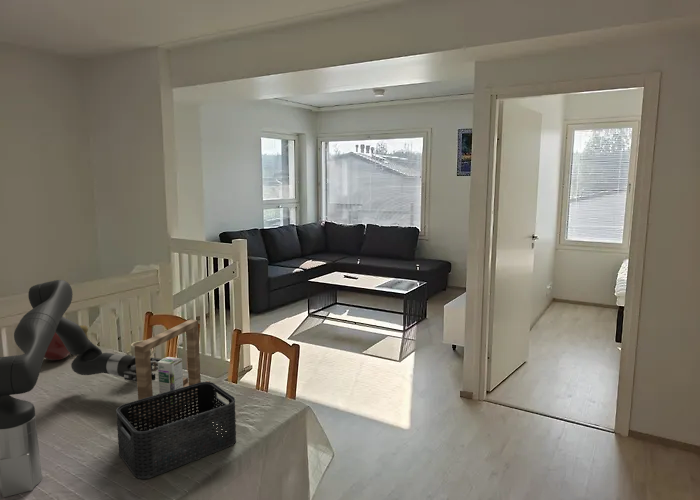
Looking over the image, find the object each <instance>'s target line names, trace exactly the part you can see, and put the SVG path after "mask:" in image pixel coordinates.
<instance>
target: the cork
mask: <svg viewBox="0 0 700 500" xmlns="http://www.w3.org/2000/svg"><path fill="white" fill-rule="evenodd" d="M79 326H80V327H81V328H82V329H83V331H84V333H85V334H86V336H87V338H88V339H89V337H88V331H89V327H88V326H86V325H84V324H83V325H79Z"/></svg>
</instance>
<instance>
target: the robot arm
mask: <svg viewBox="0 0 700 500" xmlns="http://www.w3.org/2000/svg"><path fill="white" fill-rule="evenodd" d="M27 296H28V301H29V303H30V306H31V307H32V309H31V310H29V311H28V312H26V314H24V315H23V316H22V317H21V319H20V320H19V322H18V324H17V326H16V328H15V329H14V333H13V339H14V342H15V344H16V346H17V347H18V348H19V349H20V350H21V352H23V354H18V355H6V356H0V494H1V497H2V498H7V497H10V496H15V495H19V494H23V493H27V492H30V491H33V490H34V488H35V487H36V486H37V485H39V484H40V482H41V481H42V479H43V473H42V464H41V456H40V446H39V437H38V427H37V420H36V419H37V418H36V409H35V405H34V404H33V403H32V402H31V401H28V400H24V399H19V398H15V397H14V395H22V394H26V393H29V392H31V391H32V390H33V389H34V388H35V386H36V385H37V382H38V380H39V376H40V373H41V369H42V365H43V362H44V359H45V358H44V356H45V353H46V351H47V349H48V346H49V344H50V342H51V340H52V338H53V336H54V334H55V332H56V334H57V335H58V336H59V337H60V339H61V340H62V342H63V344H64V345H65V347H66V348H67V350H68V351H69V353H70V354H71V355H72V356H76V357H74V359H73V360H72V362H71V364H70V366H71V370H72V371H73V372H74V373H75V374H78V375H81V376H91V375H99V374H108V375H113V376H115V377H121V378H124V380H126V381H131V382H136V383H137V375H136V361H135V356H131V355H130V354H129V355H127V354H124V353H123V354H122V353H119V354H118V353H111V352H103V351H102V350H101V348H99V347H98V346H97V345H95V344H94V343H93V342H92V341H91V340H90V339H89V337H88V338H87V336H88V335H87V336H86V334H85V333H84V331H83V329H82V328H81V327H80V326H81V325H79V324H78V323H76V322H74V321H72V320H71V319H69V318H66V317H64V315H65V313H66V311H67V310H68V308H69V307H70V305H71V303H72V301H73V288H72V286H71V284H70V283H69V282H68V281H66V280H64V279H55V280H50V281H45V282H42V283H38V284H35V285H32V286H31V287H30V288H29V290H28V294H27ZM162 359H163V358H160V357H151V358H150V360H151V372H152V373H151V375H152V381H155V380H156V373H154V372H156V371H158V362H159V361H160V360H162Z"/></svg>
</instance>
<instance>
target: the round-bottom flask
mask: <svg viewBox="0 0 700 500" xmlns="http://www.w3.org/2000/svg"><path fill="white" fill-rule="evenodd" d="M70 354H71V353H69V351H68V350H67V348H66V347H65V345H64V344H63V342H62V340H61V339H60V337H59V336H58V335H57V334H56V332H55V334H54V336H53V338H52V340H51V342H50V344H49V346H48V349H47V351H46V353H45V356H44V359H45V360H49V361H61V360H63V359H65V358H67V357H68V356H70Z"/></svg>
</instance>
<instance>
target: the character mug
mask: <svg viewBox="0 0 700 500" xmlns="http://www.w3.org/2000/svg"><path fill="white" fill-rule="evenodd" d="M143 341H144V340H139V341H135V342H132V343H131V344H130V350H128V351H126V355H130V354H131V356H135V347H134V346H135V345H137V344H139V343H141V342H143ZM152 349H153V350H152ZM152 349H150V358H153V354H156V353H157V346H156V347H154V348H152ZM151 373H153V371H152V372H151Z"/></svg>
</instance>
